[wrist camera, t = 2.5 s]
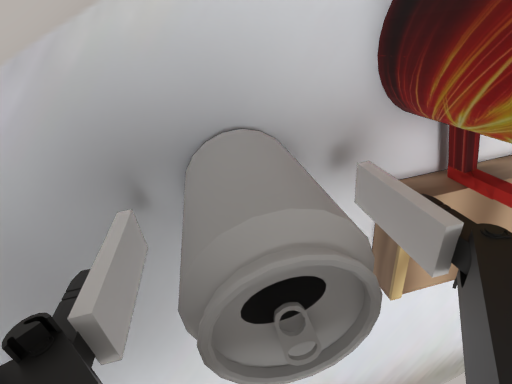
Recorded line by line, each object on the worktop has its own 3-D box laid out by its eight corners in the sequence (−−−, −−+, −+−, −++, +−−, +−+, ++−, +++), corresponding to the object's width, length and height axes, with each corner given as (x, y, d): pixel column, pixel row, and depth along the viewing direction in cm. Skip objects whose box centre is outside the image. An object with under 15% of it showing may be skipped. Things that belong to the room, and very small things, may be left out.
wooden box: (369, 273, 27) (390, 300, 24) (379, 184, 22) (408, 205, 19) (493, 240, 28) (526, 262, 25) (528, 151, 23) (575, 165, 21)
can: (276, 108, 17) (404, 201, 7) (300, 202, 21) (406, 353, 11) (164, 149, 17) (121, 309, 7) (209, 236, 21) (226, 426, 10)
